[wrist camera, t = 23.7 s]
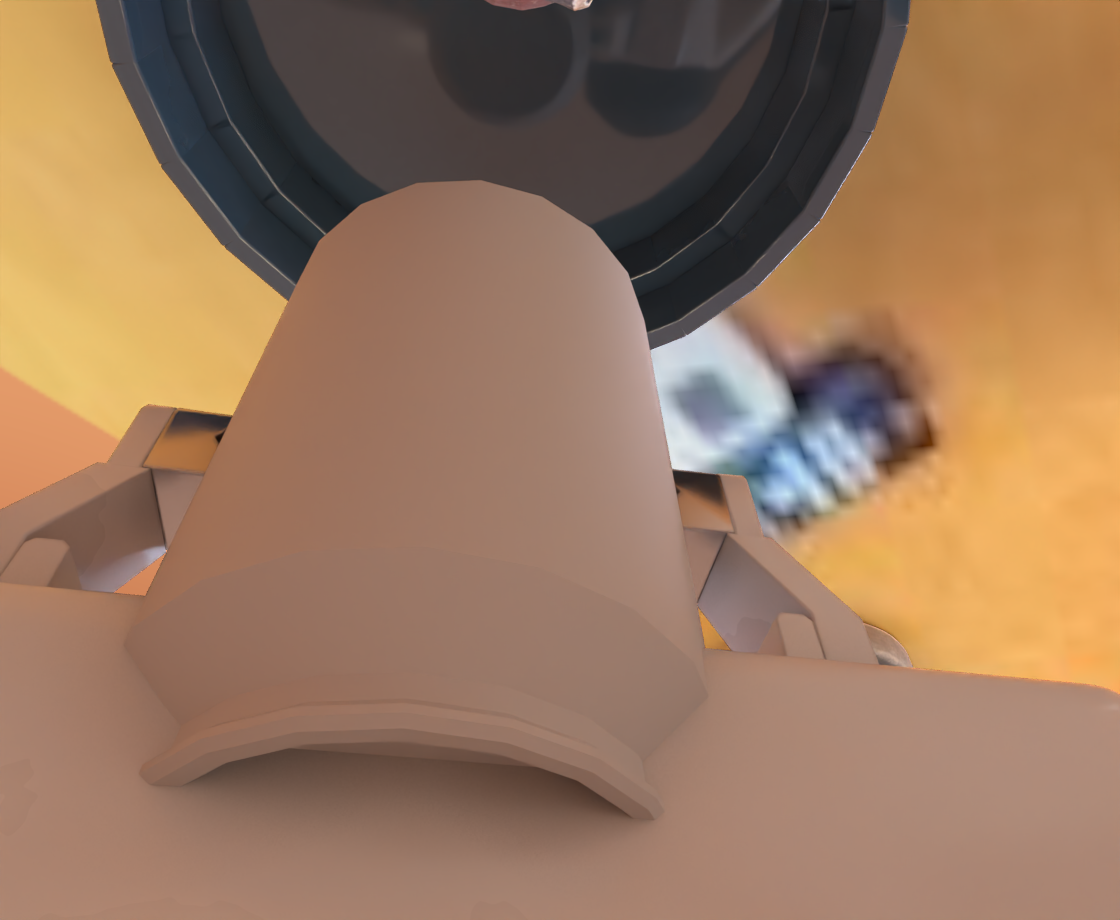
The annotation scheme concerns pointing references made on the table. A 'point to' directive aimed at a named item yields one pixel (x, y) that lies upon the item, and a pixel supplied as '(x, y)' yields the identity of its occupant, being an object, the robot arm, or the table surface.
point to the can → (438, 514)
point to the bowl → (518, 121)
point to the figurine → (540, 3)
